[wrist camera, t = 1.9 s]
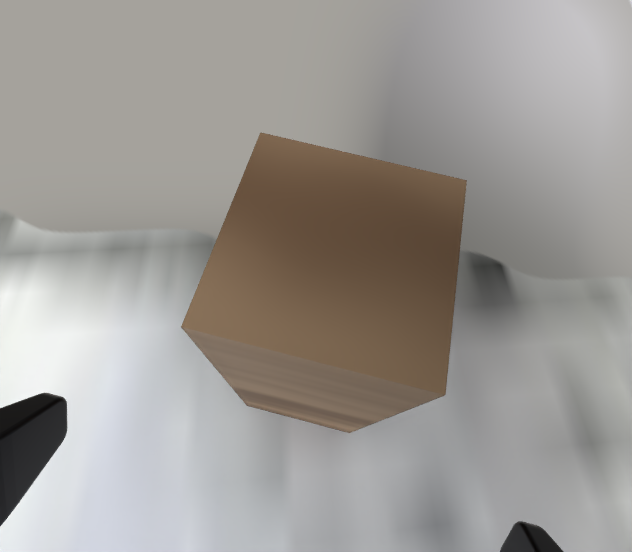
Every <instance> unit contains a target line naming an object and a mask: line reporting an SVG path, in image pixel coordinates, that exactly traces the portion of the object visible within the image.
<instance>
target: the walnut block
mask: <svg viewBox="0 0 632 552" xmlns="http://www.w3.org/2000/svg"><path fill="white" fill-rule="evenodd" d="M466 182H467V181H466V180H462V179H458V178H454V177H450V176H445V175H441V174H437V173H432V172H428V171H424V170H420V169H415V168H411V167H407V166H402V165H398V164H394V163H390V162H385V161H381V160H377V159H372V158H368V157H364V156H359V155H355V154H351V153H347V152H342V151H338V150H333V149H329V148H325V147H321V146H316V145H312V144H308V143H303V142H299V141H295V140H291V139H286V138H281V137H278V136H273V135H269V134H265V133H260V135H259V138H258V140H257V142H256V145H255V147H254V150H253V152H252V155H251V157H250V160H249V162H248V164H247V167H246V170H245V172H244V174H243V177H242V179H241V182H240V184H239V187H238V189H237V192H236V194H235V196H234V199H233V201H232V204H231V206H230V209H229V211H228V213H227V216H226V219H225V221H224V223H223V226H222V228H221V231H220V233H219V236H218V238H217V240H216V243H215V245H214V248H213V250H212V253H211V255H210V257H209V260H208V262H207V265H206V267H205V270H204V272H203V275H202V277H201V280H200V282H199V284H198V287H197V289H196V292H195V294H194V297H193V299H192V302H191V304H190V306H189V309H188V311H187V314H186V316H185V319H184V321H183V324H182V326H181V327H182V329H183V330H184V331H185V332H186V333H187V334H188V336H189V337H190V338H191V339H192V340H193V342H194V343H195V344H196V345H197V346H198V348H199V349H200V350H201V351H202V352H203V354H204V355H205V356H206V357H207V358H208V360H209V361H210V362H211V363H212V364H213V366H214V367H215V368H216V369H217V370H218V372H219V373H220V374H221V375H222V376H223V378H224V379H225V380H226V381H227V382H228V383H229V385H230V386H231V387H232V388H233V389H234V391H235V392H236V393H237V394H238V395H239V397H240V398H241V399H242V400H243V401H244V403H245V404H246V405H247V406H250V407H254V408H258V409H262V410H265V411H269V412H273V413H277V414H280V415H284V416H288V417H292V418H295V419H299V420H303V421H307V422H311V423H314V424H318V425H322V426H326V427H329V428H333V429H337V430H341V431H344V432H348V433H351V432H353V431H356V430H358V429H361V428H363V427H366V426H368V425H371V424H373V423H376V422H378V421H381V420H384V419H386V418H389V417H391V416H394V415H396V414H399V413H401V412H404V411H406V410H409V409H411V408H414V407H416V406H419V405H422V404H424V403H427V402H429V401H432V400H434V399H437V398H439V397H442V396H444V395H445V393H446V383H447V373H448V363H449V353H450V343H451V333H452V323H453V313H454V303H455V293H456V283H457V272H458V262H459V252H460V241H461V232H462V221H463V212H464V202H465V191H466Z"/></svg>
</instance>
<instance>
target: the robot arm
mask: <svg viewBox="0 0 632 552" xmlns="http://www.w3.org/2000/svg"><path fill="white" fill-rule="evenodd" d="M66 433H67V402H66V400H65V398H63V397H61V396H57V395H53V394H49V393H42V394H38V395H36V396H33V397H30V398H27V399H25V400H22V401H19V402H16V403H14V404H11V405H8V406H5V407H3V408H0V526H1V525H2V524H3V522H4V521H5V520H6V519H7V518H8V516H9V515H10V514H11V512H12V511H13V510H14V508H15V507H16V506H17V504H18V503H19V502H20V500H21V499H22V497H23V496H24V495H25V493H26V492H27V491H28V489H29V488H30V486H31V485H32V484H33V482H34V481H35V479H36V478H37V477H38V475H39V474H40V472H41V471H42V470H43V468H44V467H45V466H46V464H47V463H48V461H49V460H50V459H51V457H52V456H53V454H54V453H55V452H56V450H57V449H58V447H59V446H60V445H61V443H62V442H63V440H64V438H65V436H66ZM500 552H563V551H562V549H561V548H560V547H559V546H558V545H557V544H556V543H555V542H554V540H553V539H552V538H551V537H550V536H549V535H548V534H547V532H546V531H545V530H544V529H542V528H541V527H539V526H537V525H533V524H529V523H526V522H522V521H519V522H517V523H515V524H514V526H513V528H512V529H511V531H510V533H509V535H508V537H507V538H506V540H505V542H504V544H503V545H502V547H501V550H500Z"/></svg>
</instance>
